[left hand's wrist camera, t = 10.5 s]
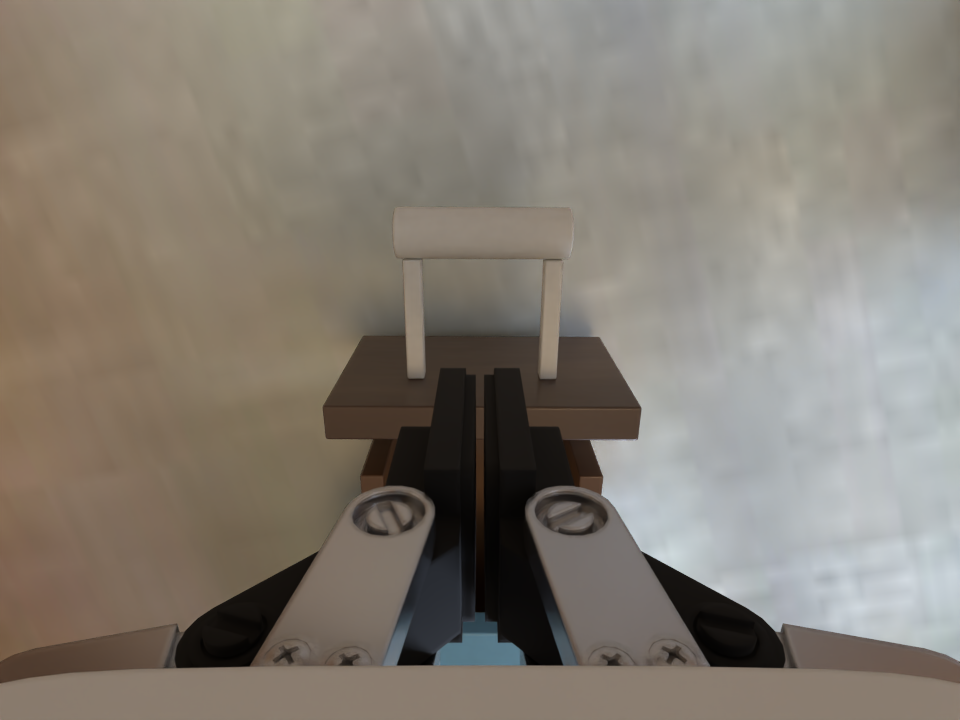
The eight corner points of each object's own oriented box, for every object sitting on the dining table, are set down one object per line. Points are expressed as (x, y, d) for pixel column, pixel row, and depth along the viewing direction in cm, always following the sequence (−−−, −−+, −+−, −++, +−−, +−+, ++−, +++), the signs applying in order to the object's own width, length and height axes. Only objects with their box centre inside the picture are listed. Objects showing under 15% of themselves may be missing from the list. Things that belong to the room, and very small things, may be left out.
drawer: (352, 193, 22) (302, 216, 16) (612, 194, 22) (665, 219, 16) (387, 680, 32) (365, 817, 25) (570, 681, 32) (592, 817, 25)
